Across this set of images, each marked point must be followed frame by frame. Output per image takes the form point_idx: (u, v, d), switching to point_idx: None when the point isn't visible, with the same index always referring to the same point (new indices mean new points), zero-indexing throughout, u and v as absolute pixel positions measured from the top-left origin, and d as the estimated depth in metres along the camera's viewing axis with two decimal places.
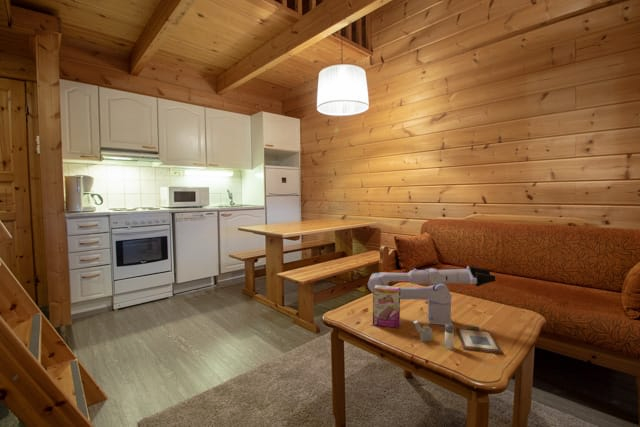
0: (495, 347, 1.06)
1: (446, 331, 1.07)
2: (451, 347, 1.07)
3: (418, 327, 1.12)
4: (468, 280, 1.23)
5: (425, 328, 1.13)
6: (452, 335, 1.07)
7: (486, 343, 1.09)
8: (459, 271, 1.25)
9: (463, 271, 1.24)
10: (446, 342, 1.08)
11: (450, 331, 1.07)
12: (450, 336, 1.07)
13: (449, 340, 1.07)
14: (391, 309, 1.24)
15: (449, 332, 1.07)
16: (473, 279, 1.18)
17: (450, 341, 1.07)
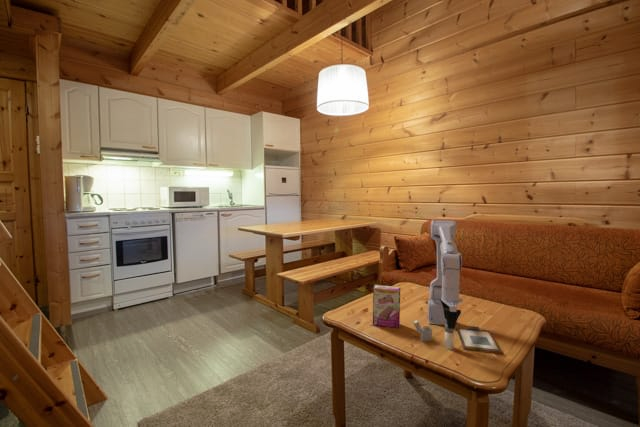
0: (495, 347, 1.06)
1: (446, 331, 1.07)
2: (451, 347, 1.07)
3: (418, 327, 1.12)
4: (447, 300, 1.05)
5: (425, 328, 1.13)
6: (452, 335, 1.07)
7: (486, 343, 1.09)
8: (458, 291, 1.05)
9: (458, 295, 1.05)
10: (446, 342, 1.08)
11: (450, 331, 1.07)
12: (450, 336, 1.07)
13: (449, 340, 1.07)
14: (391, 309, 1.24)
15: (449, 332, 1.07)
16: (455, 308, 1.00)
17: (450, 341, 1.07)
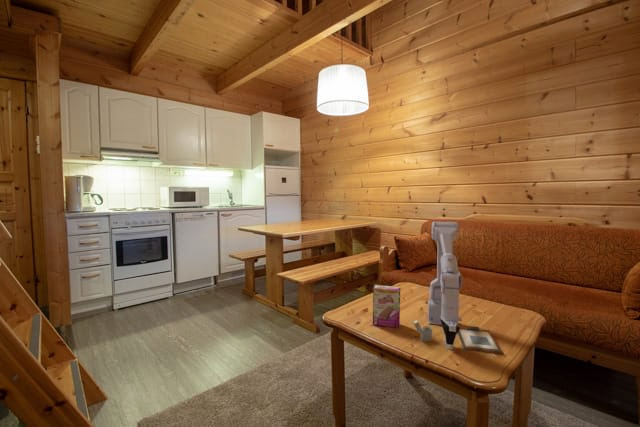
0: (495, 347, 1.06)
1: None
2: (451, 347, 1.07)
3: (418, 327, 1.12)
4: (447, 319, 1.05)
5: (425, 328, 1.13)
6: None
7: (486, 343, 1.09)
8: (457, 310, 1.05)
9: (457, 314, 1.05)
10: None
11: None
12: None
13: None
14: (391, 309, 1.24)
15: None
16: (454, 328, 1.01)
17: None
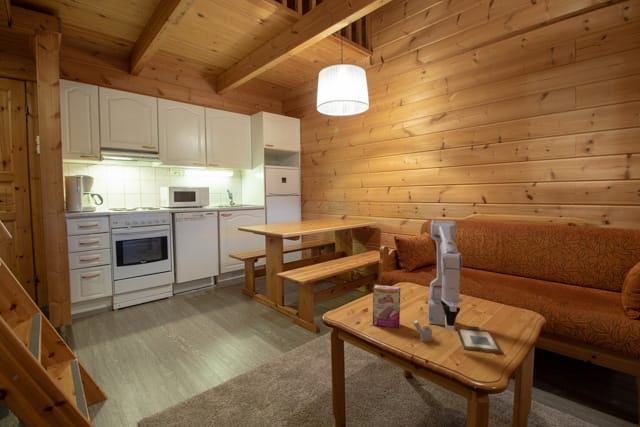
0: (495, 347, 1.06)
1: None
2: (452, 328, 1.07)
3: (418, 327, 1.12)
4: (448, 299, 1.05)
5: (425, 328, 1.13)
6: None
7: (486, 343, 1.09)
8: (458, 291, 1.05)
9: (458, 295, 1.05)
10: None
11: None
12: None
13: None
14: (391, 309, 1.24)
15: None
16: (455, 308, 1.00)
17: None
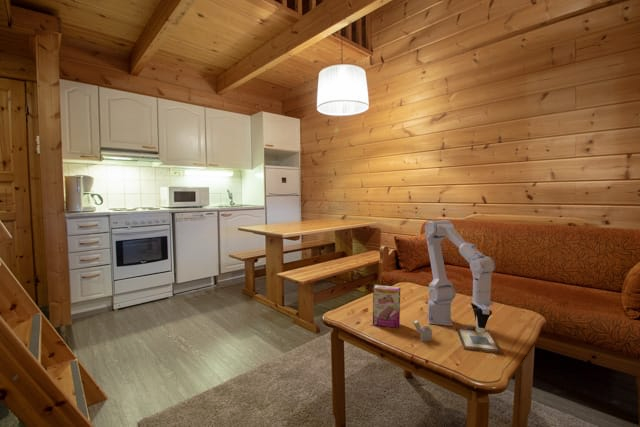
0: (495, 347, 1.06)
1: None
2: (483, 330, 1.09)
3: (418, 327, 1.12)
4: (479, 302, 1.08)
5: (425, 328, 1.13)
6: None
7: (486, 343, 1.09)
8: (489, 294, 1.08)
9: (489, 298, 1.08)
10: None
11: None
12: None
13: None
14: (391, 309, 1.24)
15: None
16: (488, 311, 1.03)
17: None
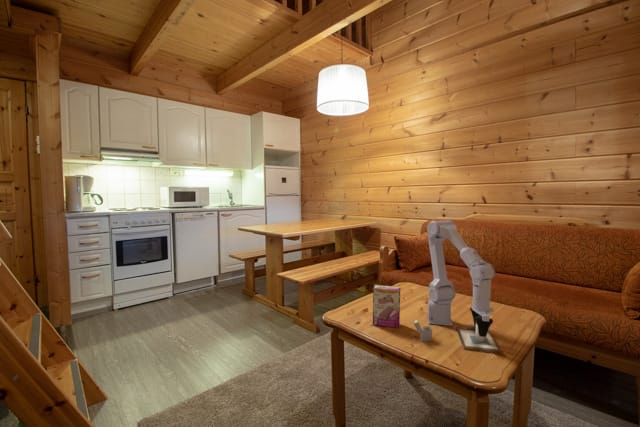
0: (495, 347, 1.06)
1: None
2: (482, 339, 1.10)
3: (418, 327, 1.12)
4: (479, 309, 1.08)
5: (425, 328, 1.13)
6: None
7: (486, 343, 1.09)
8: (489, 301, 1.08)
9: (489, 305, 1.08)
10: (477, 335, 1.10)
11: None
12: None
13: None
14: (391, 309, 1.24)
15: None
16: (488, 318, 1.03)
17: None
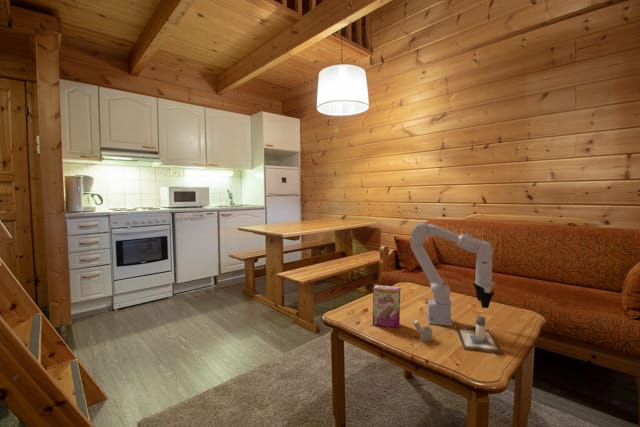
0: (495, 347, 1.06)
1: (477, 324, 1.10)
2: (482, 340, 1.10)
3: (418, 327, 1.12)
4: (481, 283, 1.19)
5: (425, 328, 1.13)
6: (484, 328, 1.09)
7: (486, 343, 1.09)
8: (491, 275, 1.19)
9: (491, 279, 1.19)
10: (477, 335, 1.10)
11: (482, 324, 1.09)
12: (482, 329, 1.09)
13: (481, 333, 1.09)
14: (391, 309, 1.24)
15: (481, 325, 1.09)
16: (489, 289, 1.14)
17: (481, 334, 1.09)
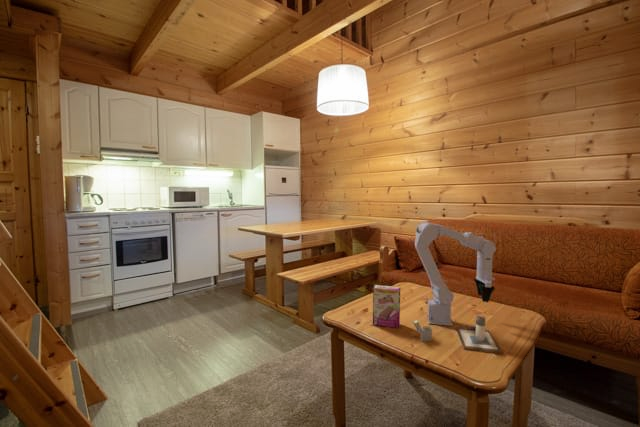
0: (495, 347, 1.06)
1: (477, 324, 1.10)
2: (482, 340, 1.10)
3: (418, 327, 1.12)
4: (482, 278, 1.25)
5: (425, 328, 1.13)
6: (483, 328, 1.09)
7: (486, 343, 1.09)
8: (491, 271, 1.25)
9: (491, 274, 1.25)
10: (477, 335, 1.10)
11: (482, 324, 1.09)
12: (482, 329, 1.09)
13: (481, 333, 1.09)
14: (391, 309, 1.24)
15: (481, 325, 1.09)
16: (490, 284, 1.20)
17: (481, 334, 1.09)
